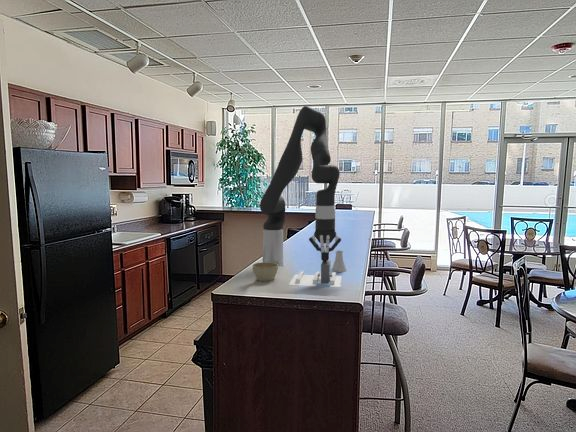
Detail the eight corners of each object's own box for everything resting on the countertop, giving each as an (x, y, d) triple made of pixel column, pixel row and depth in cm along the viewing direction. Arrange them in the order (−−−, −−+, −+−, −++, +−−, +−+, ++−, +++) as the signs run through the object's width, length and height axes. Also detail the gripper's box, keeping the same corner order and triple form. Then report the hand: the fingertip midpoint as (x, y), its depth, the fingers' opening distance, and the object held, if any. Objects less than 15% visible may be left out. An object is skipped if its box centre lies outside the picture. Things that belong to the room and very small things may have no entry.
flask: (336, 276, 165) (337, 253, 164) (327, 272, 171) (327, 250, 170) (350, 274, 168) (351, 251, 167) (340, 271, 174) (341, 248, 173)
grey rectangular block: (320, 283, 149) (321, 264, 148) (322, 277, 158) (322, 259, 157) (328, 283, 148) (329, 265, 148) (330, 277, 157) (330, 260, 157)
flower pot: (268, 287, 149) (268, 268, 148) (247, 283, 154) (247, 265, 153) (282, 281, 157) (282, 263, 156) (262, 278, 162) (262, 261, 162)
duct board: (288, 288, 147) (288, 279, 146) (295, 277, 163) (295, 269, 162) (340, 291, 144) (340, 281, 143) (341, 279, 159) (341, 271, 159)
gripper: (343, 216, 154) (342, 260, 156) (309, 216, 156) (309, 259, 158) (342, 218, 147) (341, 264, 148) (306, 218, 149) (306, 263, 151)
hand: (325, 261), depth 153 cm, fingers closed
